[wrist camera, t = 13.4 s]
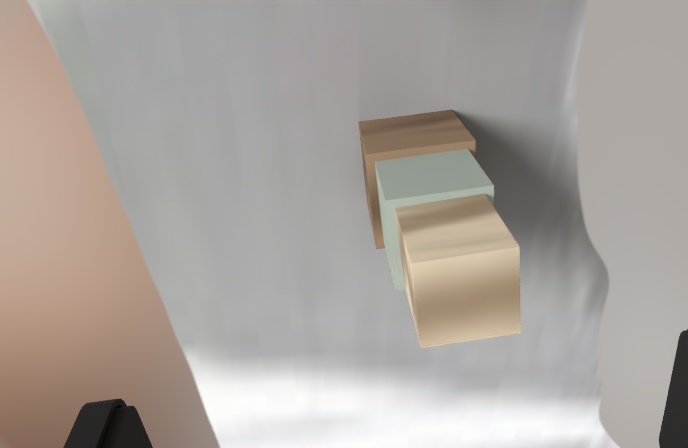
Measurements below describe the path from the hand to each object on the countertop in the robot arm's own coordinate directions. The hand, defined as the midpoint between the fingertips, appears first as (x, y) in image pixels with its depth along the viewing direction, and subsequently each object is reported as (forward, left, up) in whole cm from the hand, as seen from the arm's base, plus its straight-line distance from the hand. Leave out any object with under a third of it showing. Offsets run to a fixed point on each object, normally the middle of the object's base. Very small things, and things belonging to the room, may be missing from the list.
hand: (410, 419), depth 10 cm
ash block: (+9, +5, -21) cm, 24 cm away
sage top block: (+9, +5, -27) cm, 29 cm away
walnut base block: (+9, +5, -34) cm, 36 cm away
